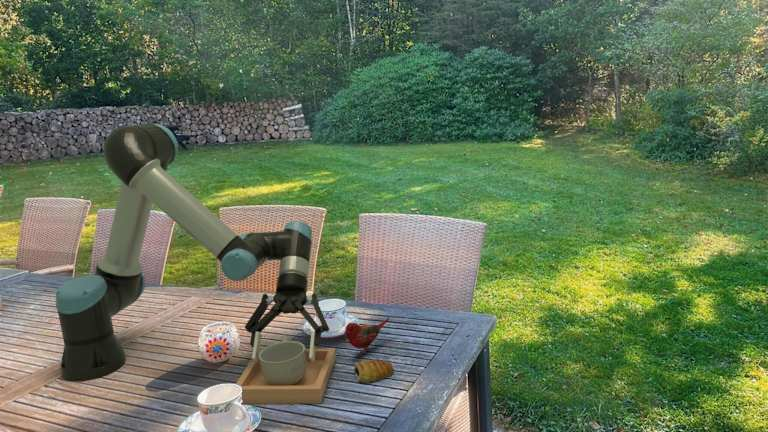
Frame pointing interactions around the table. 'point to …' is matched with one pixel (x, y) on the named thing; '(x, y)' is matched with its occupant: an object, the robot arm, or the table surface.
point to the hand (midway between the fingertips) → (283, 359)
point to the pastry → (372, 370)
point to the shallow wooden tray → (301, 392)
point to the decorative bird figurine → (362, 334)
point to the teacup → (283, 363)
